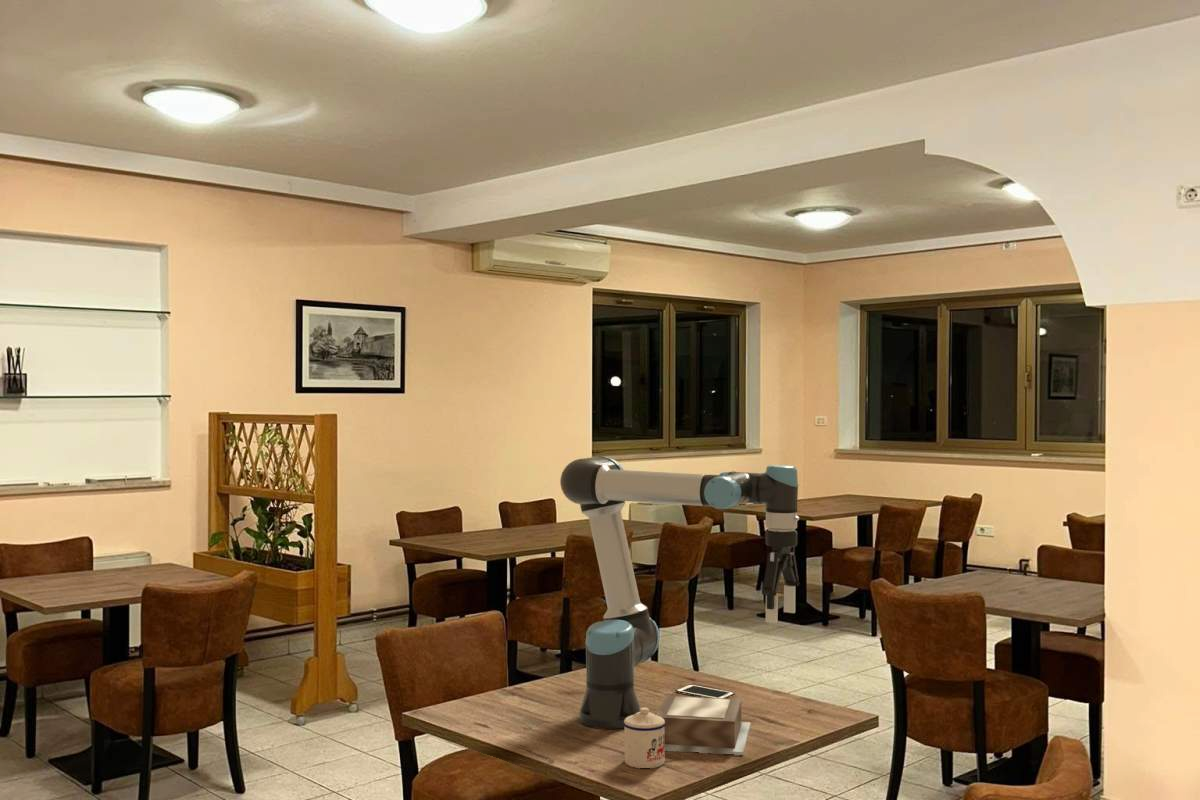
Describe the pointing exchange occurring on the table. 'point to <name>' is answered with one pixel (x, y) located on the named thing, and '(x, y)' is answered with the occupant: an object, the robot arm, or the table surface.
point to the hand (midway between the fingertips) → (780, 617)
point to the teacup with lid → (644, 740)
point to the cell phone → (704, 691)
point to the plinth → (703, 725)
